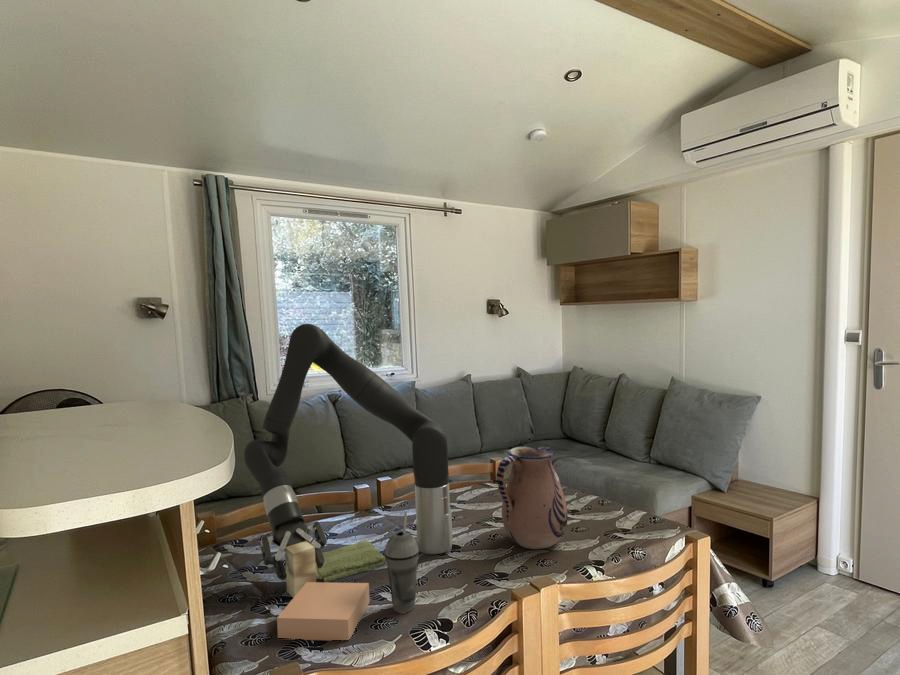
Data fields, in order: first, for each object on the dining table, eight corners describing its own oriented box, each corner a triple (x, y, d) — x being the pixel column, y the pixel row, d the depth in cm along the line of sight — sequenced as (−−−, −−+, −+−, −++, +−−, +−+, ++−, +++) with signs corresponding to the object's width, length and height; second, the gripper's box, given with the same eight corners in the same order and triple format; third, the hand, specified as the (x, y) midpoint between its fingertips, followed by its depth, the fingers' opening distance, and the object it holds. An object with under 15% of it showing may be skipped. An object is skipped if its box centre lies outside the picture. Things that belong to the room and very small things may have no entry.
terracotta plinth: (369, 601, 107) (368, 583, 107) (348, 641, 93) (348, 619, 93) (307, 600, 109) (306, 582, 109) (277, 639, 95) (277, 618, 95)
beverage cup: (387, 599, 108) (383, 507, 108) (421, 597, 108) (417, 505, 108) (385, 618, 100) (381, 519, 100) (421, 615, 101) (417, 516, 101)
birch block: (307, 583, 117) (306, 540, 117) (316, 591, 113) (314, 547, 113) (286, 590, 114) (285, 547, 114) (295, 599, 110) (293, 553, 110)
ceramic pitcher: (581, 540, 135) (577, 447, 135) (537, 568, 119) (533, 464, 119) (527, 525, 147) (523, 440, 147) (481, 549, 131) (477, 455, 131)
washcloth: (304, 565, 127) (304, 553, 127) (370, 549, 136) (369, 537, 136) (317, 587, 116) (317, 573, 116) (388, 567, 124) (388, 554, 124)
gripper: (255, 508, 115) (275, 575, 106) (314, 494, 124) (337, 554, 114) (249, 525, 119) (267, 590, 110) (307, 510, 128) (328, 570, 119)
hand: (303, 572), depth 112 cm, fingers open, 8 cm apart
